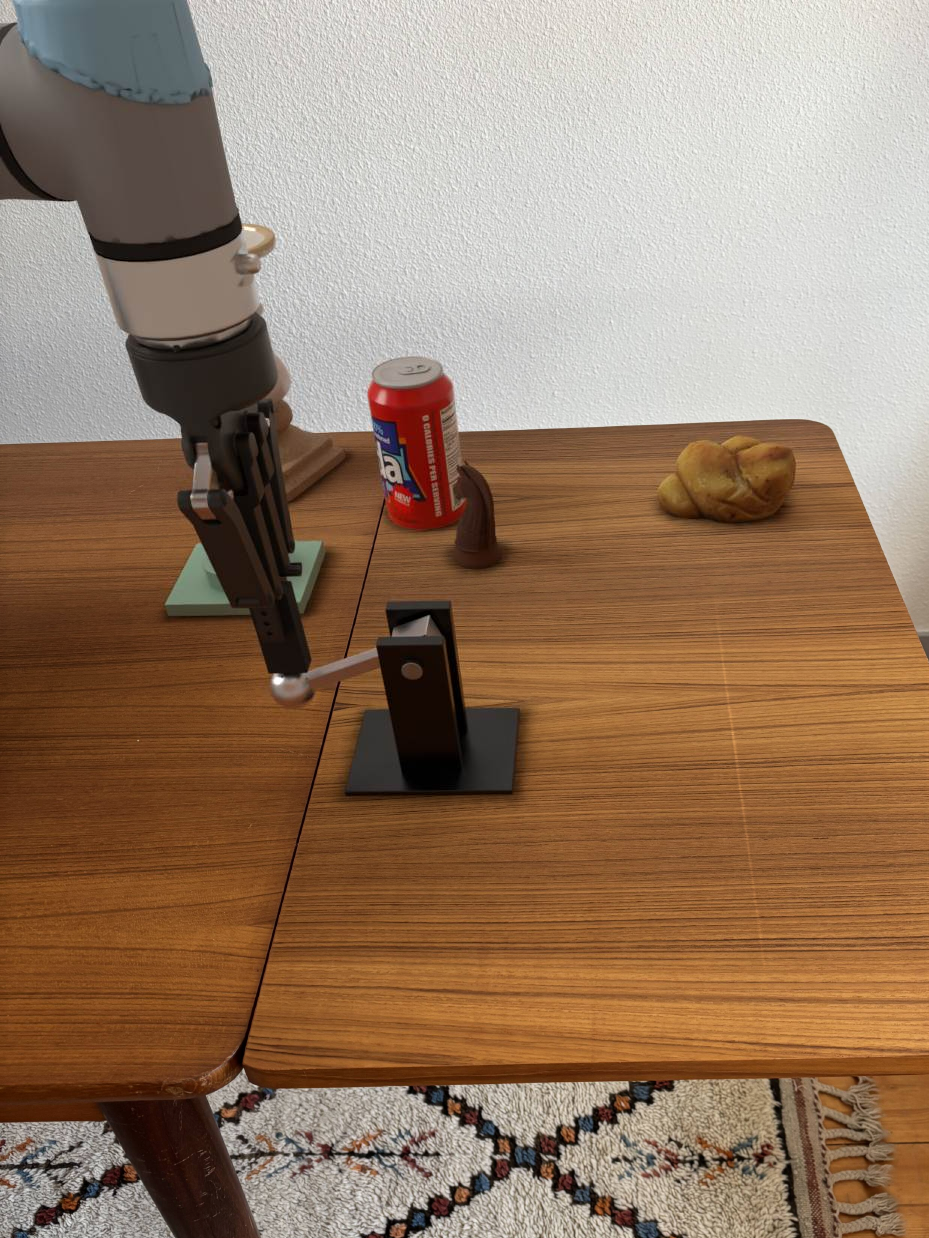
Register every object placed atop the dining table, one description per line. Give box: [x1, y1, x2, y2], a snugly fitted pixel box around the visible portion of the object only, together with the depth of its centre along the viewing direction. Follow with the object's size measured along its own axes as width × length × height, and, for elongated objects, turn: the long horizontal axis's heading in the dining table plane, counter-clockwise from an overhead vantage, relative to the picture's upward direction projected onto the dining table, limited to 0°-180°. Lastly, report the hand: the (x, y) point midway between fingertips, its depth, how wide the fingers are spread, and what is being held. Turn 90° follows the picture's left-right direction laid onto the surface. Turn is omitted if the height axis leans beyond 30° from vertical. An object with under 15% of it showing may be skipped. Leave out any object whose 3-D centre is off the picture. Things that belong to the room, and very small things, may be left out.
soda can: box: [366, 355, 468, 531], centre depth 100 cm, size 8×8×15 cm
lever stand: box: [344, 600, 521, 797], centre depth 74 cm, size 12×9×13 cm
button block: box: [164, 540, 326, 617], centre depth 95 cm, size 12×10×4 cm
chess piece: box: [452, 460, 502, 570], centre depth 95 cm, size 5×5×10 cm
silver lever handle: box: [269, 615, 446, 710], centre depth 72 cm, size 13×3×3 cm, turn 88°
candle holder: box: [242, 222, 346, 503], centre depth 104 cm, size 11×11×24 cm
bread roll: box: [656, 434, 797, 523], centre depth 101 cm, size 13×10×8 cm
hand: (290, 666), depth 73 cm, fingers closed
